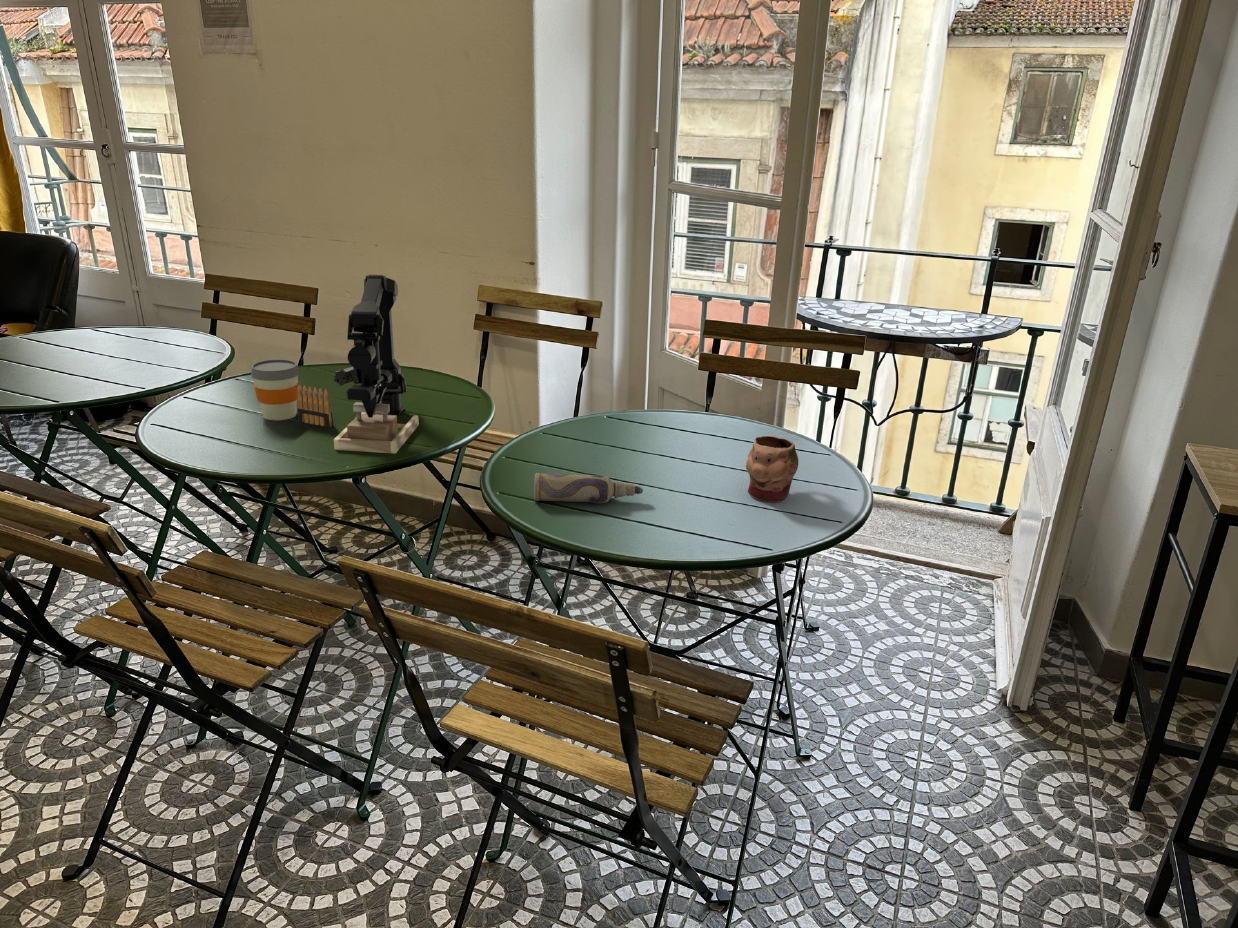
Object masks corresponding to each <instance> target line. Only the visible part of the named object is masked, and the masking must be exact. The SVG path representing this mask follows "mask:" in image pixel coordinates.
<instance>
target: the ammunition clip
mask: <svg viewBox="0 0 1238 928" xmlns="http://www.w3.org/2000/svg"><path fill="white" fill-rule="evenodd" d="M331 408H332V407H331V402H330V395H329V393H328V389H327V388H325V389H324V392H323V390H322V388H321V387H320V388H319V390H317V387H316V386H314V388H313V390H312V387H311V386H308V389H307V386H306V385H303V387H302V386H301V384H300V383H299V385H298V399H297V420H298V426H299V427H304V428H310V429H311V428H312V427H314V426H321V427H325V428H332V427H334V417H333V412H332V411H331V410H332V409H331Z"/></svg>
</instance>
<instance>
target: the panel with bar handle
mask: <svg viewBox="0 0 1238 928" xmlns="http://www.w3.org/2000/svg"><path fill="white" fill-rule="evenodd" d="M352 408H353V412H354V413H356V416H355V418H354V419H353V420H351V422H349V423H348V424H347V426H346V427H347V432H348V439H363V440H379V441H393V439H394V438H395V437H396V436H397V435H398V434H399V432H398V427H397V424H398V415H389V414H388V413H389V412H390V406H389V404H381V403H380V404H376V408H375V411H374V413H376V414H375V415H373V417H372V418H369V417H368V415H367V414H363V413H362V412H364V413H366V410H365V408H364V405H363V403H362V402H360V401H359V402H357V401H355V402H354V403H353V404H352ZM377 413H380V414H377Z"/></svg>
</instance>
